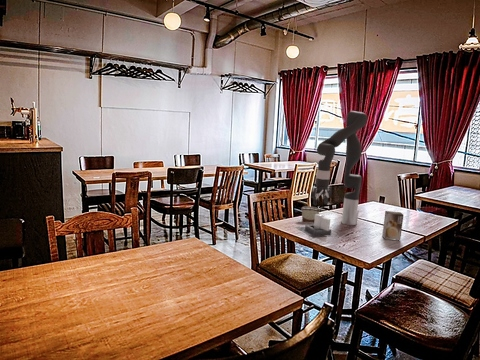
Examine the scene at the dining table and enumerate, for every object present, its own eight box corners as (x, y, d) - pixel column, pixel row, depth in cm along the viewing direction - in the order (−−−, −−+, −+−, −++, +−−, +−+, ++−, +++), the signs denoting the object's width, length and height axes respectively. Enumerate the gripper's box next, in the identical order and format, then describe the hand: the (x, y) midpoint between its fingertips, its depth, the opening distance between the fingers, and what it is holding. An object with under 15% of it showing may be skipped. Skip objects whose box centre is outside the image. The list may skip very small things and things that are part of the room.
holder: (321, 227, 236) (322, 221, 235) (341, 237, 218) (342, 231, 217) (294, 228, 228) (295, 223, 228) (312, 239, 210) (313, 233, 210)
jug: (311, 230, 224) (313, 214, 222) (317, 229, 227) (319, 213, 225) (324, 235, 215) (326, 219, 213) (330, 234, 218) (332, 218, 216)
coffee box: (397, 237, 225) (401, 212, 222) (400, 241, 218) (404, 214, 216) (381, 236, 226) (385, 210, 223) (384, 239, 219) (387, 213, 217)
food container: (317, 221, 249) (319, 207, 247) (318, 224, 243) (320, 209, 241) (299, 219, 250) (300, 205, 248) (299, 222, 244) (301, 207, 242)
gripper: (318, 179, 210) (315, 207, 213) (336, 178, 218) (333, 205, 221) (309, 177, 217) (307, 203, 220) (327, 176, 224) (324, 202, 227)
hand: (320, 204), depth 220 cm, fingers open, 8 cm apart
